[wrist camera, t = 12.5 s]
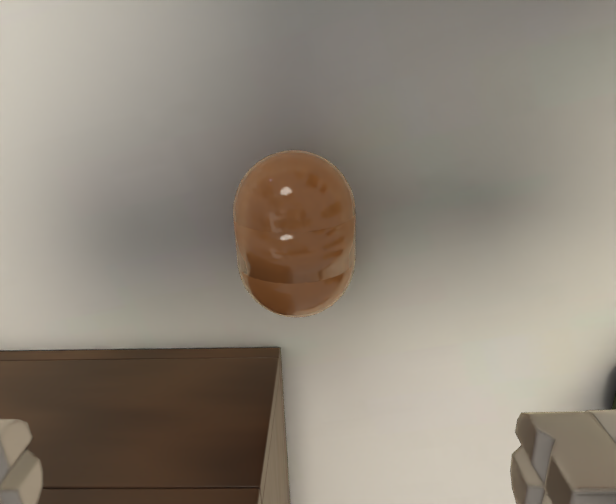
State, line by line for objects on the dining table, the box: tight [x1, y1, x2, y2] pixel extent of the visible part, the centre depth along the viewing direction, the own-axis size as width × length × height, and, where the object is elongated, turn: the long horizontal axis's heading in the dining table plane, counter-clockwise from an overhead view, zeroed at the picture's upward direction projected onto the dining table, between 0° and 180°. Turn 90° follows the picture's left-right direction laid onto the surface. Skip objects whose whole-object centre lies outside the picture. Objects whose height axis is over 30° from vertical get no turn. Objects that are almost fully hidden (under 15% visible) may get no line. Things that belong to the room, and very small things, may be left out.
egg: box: [233, 150, 356, 317], centre depth 18 cm, size 6×4×4 cm
